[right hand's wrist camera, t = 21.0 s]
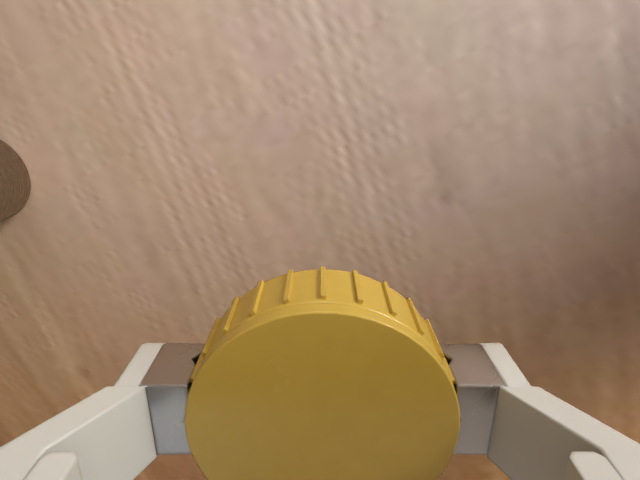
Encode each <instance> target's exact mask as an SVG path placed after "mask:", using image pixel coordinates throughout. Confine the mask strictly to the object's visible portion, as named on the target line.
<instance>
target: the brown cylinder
mask: <svg viewBox="0 0 640 480" xmlns="http://www.w3.org/2000/svg"><path fill="white" fill-rule="evenodd" d="M29 194H30V179H29V175H28V172H27V169H26V167H25V165H24V163H23V161H22V160H21V158H20V157H19V156H18V154H17V153H16V152H15V151H14V150H13V149H12V148H11V147H10V146H8V145H7V144H6V143H4V142H3V141H1V140H0V220H2V219H5V218H7V217H9V216H12V215H14V214H16V213H17V212H19V211H20V210H21V209H22V208H23V207H24V205H25V204H26V202H27V200H28V197H29Z"/></svg>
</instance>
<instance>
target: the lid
mask: <svg viewBox="0 0 640 480" xmlns="http://www.w3.org/2000/svg"><path fill="white" fill-rule="evenodd" d="M190 383H192V385H191V388H190V390H189V392H188V397H187V401H186V406H185V420H184V422H185V431H186V438H187V441H188V445H189V448H190V451H191V453H192V455H193V457H194V460H195V462H196V464H197V465H198V467H199V468H200V470H201V471H202V473H203V474H204V476H205V477H206V478H207V479H208V480H437V479H438V478H439V477H440V475H441V474H442V473H443V471H444V470H445V468H446V467H447V465H448V463H449V461H450V459H451V457H452V455H453V453H454V450H455V447H456V444H457V441H458V435H459V429H460V409H459V403H458V397H457V394H456V392H455V389H454V386H453V385H454V384H455V379H454V377H453V375H452V372H451V370H450V368H449V365H448V363H447V361H446V359H445V356H444V354H443V351H442V349H441V347H440V345H439V342H438V340H437V338H436V335H435V333H434V331H433V329H432V326H431V324H430V322H429V320H428V319H426V320H424V319H423V318H422V316H421V315H420V314H419V312H418V311H417V310H416V309H415V307H414V304H413V302H412V300H411V299H410V298H408V299H405V298H404V297H403V296H401V295H400V294H399V293H397V292H396V291H395V290H393V289H391V288H390V287H389V286H388V283H387V282H385V281H383V282H382V283H381V282H378V281H376V280H373V279H371V278H368V277H366V276H363V275H359V274H358V271H355V270H353V272H352V273H351V272H346V271H339V270H326V267H320V269H315V270H305V271H298V272H293V270H289V271H288V274H285V275H282V276H279V277H276V278H273V279H270V280H268V281H266V282H263V280H261V281H259V282H258V284H257V286H256V287H254V288H253V289H251V290H250V291H249V292H247V293H246V294H244V295H243V296H241V297H240V298H238V297H235V298H234V299H233V302H232V304H231V307H230V308H229V309H228V310H227V312H226V313H225V314H224V315H223V316H222V318H221V319H220V318H217V319H216V321H215V323H214V325H213V328H212V330H211V332H210V335H209V337H208V339H207V341H206V343H205V345H204V348H203V350H202V352H201V354H200V357H199V359H198V361H197V364H196V366H195V368H194V371H193V373H192V375H191V378H190Z"/></svg>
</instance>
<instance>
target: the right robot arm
mask: <svg viewBox="0 0 640 480" xmlns="http://www.w3.org/2000/svg"><path fill="white" fill-rule="evenodd" d="M204 345H205V344H188V343H166V344H165V343H145V344H142V345H141V346H140V347H139V349H138V350H137V352H136V353H135V355H134V356H133V358H132V359H131V361H130V362H129V364H128V365H127V367H126V368H125V370H124V371H123V373H122V374H121V376H120V377H119V379H118V380H117V382H116V383H115V385H114V386H111V387H105V388H103V389H101V390H100V391H98V392H96V393H94V394H93V395H91V396H89V397H87V398H86V399H84V400H82V401H80V402H79V403H77V404H75V405H73V406H72V407H70V408H68V409H66V410H64V411H63V412H61V413H59V414H57V415H56V416H54V417H52V418H50V419H49V420H47V421H45V422H43V423H42V424H40V425H38V426H36V427H35V428H33V429H31V430H29V431H28V432H26V433H24V434H22V435H20V436H19V437H17V438H15V439H13V440H12V441H10V442H8V443H6V444H5V445H3V446H1V447H0V480H134V479H135V478H136V477H137V476H138V475H139V474H140V473H141V472H142V471H143V470H144V469H145V468H146V467H147V466H148V465H149V464H150V463H151V462H152V461H153V460H154V459H156V458H157V455H170V454H192V453H191V451H190V448H189V445H188V441H187V438H186V431H185V422H184V420H185V406H186V401H187V397H188V392H189V390H190V388H191V385H192V383H190V378H191V375H192V373H193V371H194V368H195V366H196V364H197V361H198V359H199V357H200V354H201V352H202V350H203V348H204ZM439 345H440V347H441V349H442V351H443V354H444V356H445V359H446V361H447V363H448V365H449V368H450V370H451V372H452V375H453V377H454V379H455V384H454V385H453V386H454V389H455V392H456V394H457V397H458V403H459V409H460V429H459V435H458V441H457V444H456V447H455V450H454V453H453V454H474V455H488V456H487V457H488V458H489V459H490V460H491V461H492V462H493V463H494V464H495V465H497V466H498V467H499V468H500V469H501V470H502V471H503V472H504V473H505V474H506V475H507V476H508V477H509V478H510V479H511V480H640V444H639V443H637V442H636V441H634V440H632V439H630V438H628V437H627V436H625V435H623V434H621V433H620V432H618V431H616V430H614V429H612V428H611V427H609V426H607V425H605V424H604V423H602V422H600V421H598V420H597V419H595V418H593V417H591V416H589V415H588V414H586V413H584V412H582V411H581V410H579V409H577V408H575V407H573V406H572V405H570V404H568V403H566V402H565V401H563V400H561V399H559V398H558V397H556V396H554V395H552V394H550V393H549V392H547V391H545V390H543V389H542V388H540V387H533V386H531V385H530V384H529V382H528V381H527V379H526V378H525V376H524V375H523V374H522V372H521V371H520V369H519V368H518V366H517V365H516V363H515V362H514V361H513V359H512V358H511V356H510V355H509V353H508V352H507V350H506V349H505V348H504V346H503V345H502V344H500V343H478V344H439Z"/></svg>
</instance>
